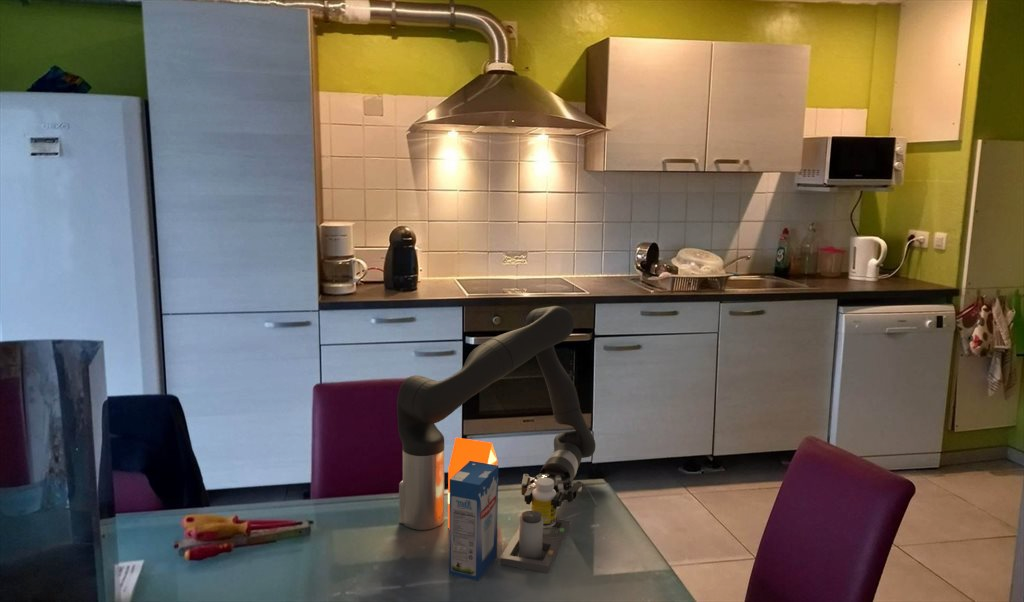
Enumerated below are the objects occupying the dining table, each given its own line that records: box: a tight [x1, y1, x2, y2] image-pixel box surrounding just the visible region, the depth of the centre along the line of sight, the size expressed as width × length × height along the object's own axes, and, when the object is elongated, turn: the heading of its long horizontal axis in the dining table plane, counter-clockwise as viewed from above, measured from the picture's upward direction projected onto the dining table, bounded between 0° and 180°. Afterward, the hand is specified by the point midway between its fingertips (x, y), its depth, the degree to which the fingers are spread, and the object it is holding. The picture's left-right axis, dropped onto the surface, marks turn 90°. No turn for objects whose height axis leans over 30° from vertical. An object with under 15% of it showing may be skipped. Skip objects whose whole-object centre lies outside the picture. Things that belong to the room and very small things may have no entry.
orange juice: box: [447, 437, 498, 529], centre depth 166 cm, size 8×9×20 cm
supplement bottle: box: [531, 477, 557, 529], centre depth 163 cm, size 5×5×10 cm
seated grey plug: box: [518, 510, 544, 561], centre depth 154 cm, size 5×5×9 cm
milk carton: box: [448, 461, 499, 582], centre depth 149 cm, size 10×6×20 cm, turn 160°
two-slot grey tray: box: [499, 518, 571, 574], centre depth 159 cm, size 10×20×2 cm, turn 163°
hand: (541, 502), depth 160 cm, fingers closed on supplement bottle, 5 cm apart
